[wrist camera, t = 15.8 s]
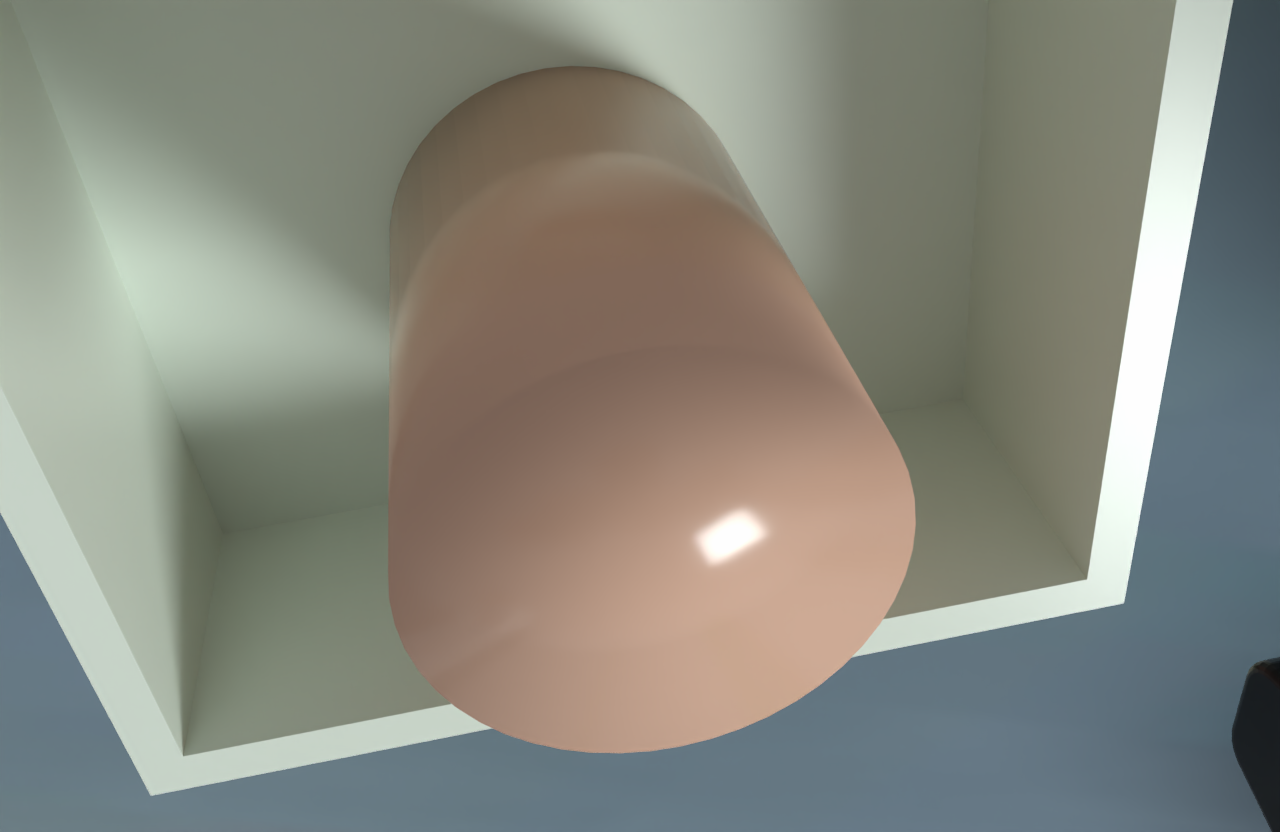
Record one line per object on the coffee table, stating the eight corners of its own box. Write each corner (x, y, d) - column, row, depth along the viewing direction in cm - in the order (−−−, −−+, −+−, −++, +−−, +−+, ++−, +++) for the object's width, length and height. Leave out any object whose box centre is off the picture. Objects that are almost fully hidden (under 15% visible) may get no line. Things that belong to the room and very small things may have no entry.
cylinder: (733, 38, 16) (924, 297, 10) (752, 358, 19) (908, 699, 13) (350, 99, 15) (325, 404, 10) (430, 416, 18) (447, 793, 13)
